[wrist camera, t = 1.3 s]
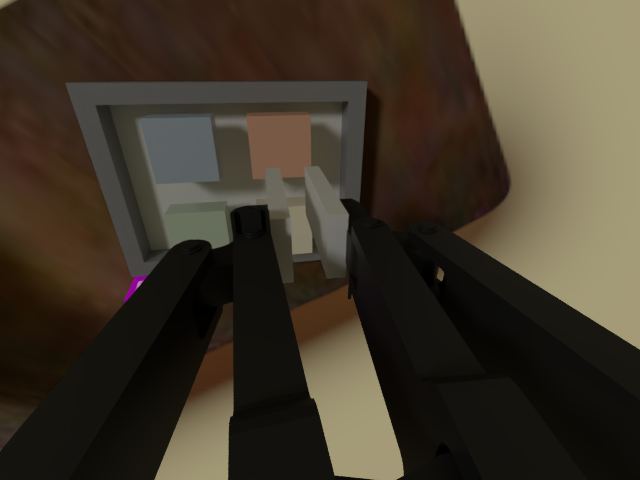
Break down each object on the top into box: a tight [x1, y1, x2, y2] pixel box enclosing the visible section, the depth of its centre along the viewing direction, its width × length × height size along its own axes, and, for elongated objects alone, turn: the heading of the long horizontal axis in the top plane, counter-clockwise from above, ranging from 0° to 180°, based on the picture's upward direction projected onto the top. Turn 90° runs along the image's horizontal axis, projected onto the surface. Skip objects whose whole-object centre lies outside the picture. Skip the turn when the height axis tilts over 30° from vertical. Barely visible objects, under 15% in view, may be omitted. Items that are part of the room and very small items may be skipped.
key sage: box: [164, 201, 233, 249], centre depth 31 cm, size 5×5×2 cm
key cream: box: [256, 196, 312, 254], centre depth 32 cm, size 5×5×2 cm
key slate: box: [140, 113, 223, 184], centre depth 27 cm, size 5×5×2 cm
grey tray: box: [66, 80, 367, 277], centre depth 32 cm, size 24×18×3 cm
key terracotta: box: [246, 112, 311, 179], centre depth 28 cm, size 5×5×2 cm
